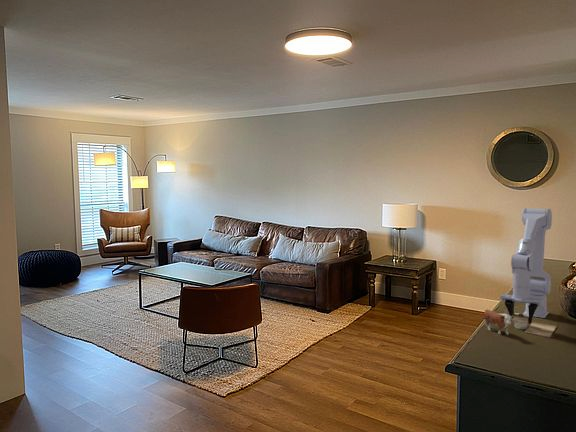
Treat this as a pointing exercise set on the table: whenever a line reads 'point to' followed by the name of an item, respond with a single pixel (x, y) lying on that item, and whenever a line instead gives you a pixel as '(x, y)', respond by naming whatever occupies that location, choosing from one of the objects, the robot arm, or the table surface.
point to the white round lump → (520, 325)
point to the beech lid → (520, 317)
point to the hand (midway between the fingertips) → (520, 321)
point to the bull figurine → (497, 320)
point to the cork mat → (540, 329)
